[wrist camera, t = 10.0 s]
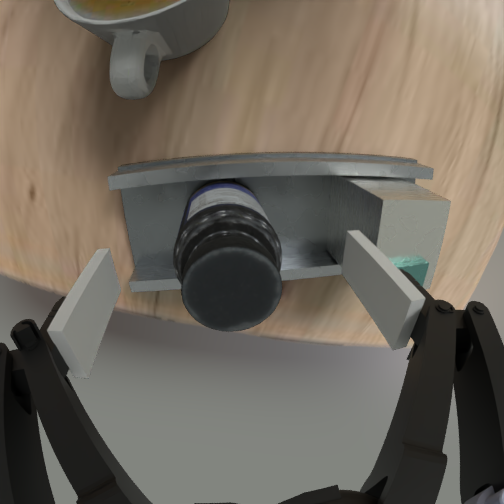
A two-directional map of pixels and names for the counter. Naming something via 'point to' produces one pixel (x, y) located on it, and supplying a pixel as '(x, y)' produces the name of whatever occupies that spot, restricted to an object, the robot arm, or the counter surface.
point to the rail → (290, 209)
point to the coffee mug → (146, 34)
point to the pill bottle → (227, 258)
